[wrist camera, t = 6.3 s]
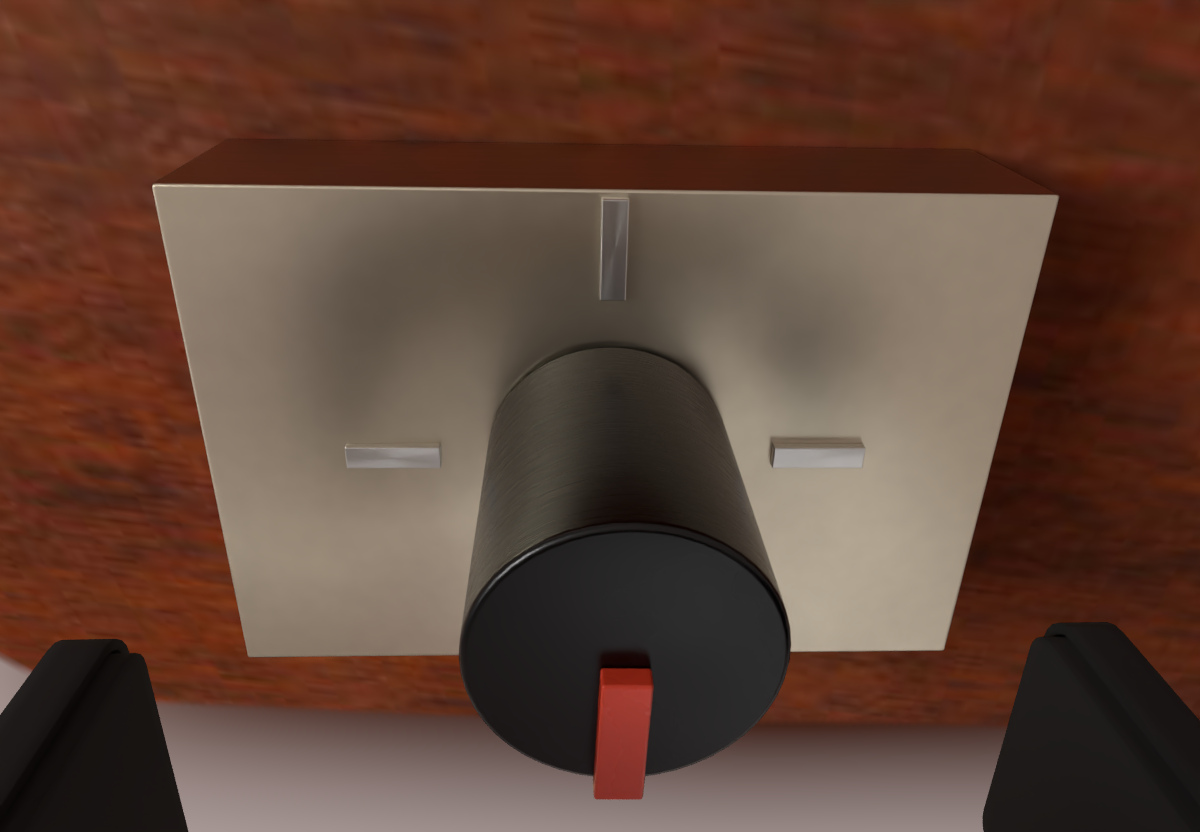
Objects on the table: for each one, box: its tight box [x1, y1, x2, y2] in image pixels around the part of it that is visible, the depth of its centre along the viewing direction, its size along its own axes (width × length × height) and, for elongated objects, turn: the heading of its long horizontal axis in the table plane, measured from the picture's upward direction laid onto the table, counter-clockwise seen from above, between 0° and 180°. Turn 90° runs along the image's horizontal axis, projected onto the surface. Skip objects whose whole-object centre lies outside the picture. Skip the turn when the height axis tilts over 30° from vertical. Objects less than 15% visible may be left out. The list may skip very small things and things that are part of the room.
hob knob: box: [459, 348, 791, 799], centre depth 12 cm, size 4×4×5 cm
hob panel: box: [152, 139, 1059, 657], centre depth 15 cm, size 12×8×3 cm, turn 89°
